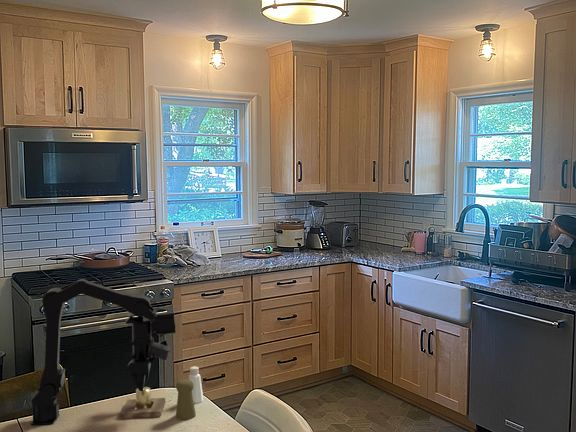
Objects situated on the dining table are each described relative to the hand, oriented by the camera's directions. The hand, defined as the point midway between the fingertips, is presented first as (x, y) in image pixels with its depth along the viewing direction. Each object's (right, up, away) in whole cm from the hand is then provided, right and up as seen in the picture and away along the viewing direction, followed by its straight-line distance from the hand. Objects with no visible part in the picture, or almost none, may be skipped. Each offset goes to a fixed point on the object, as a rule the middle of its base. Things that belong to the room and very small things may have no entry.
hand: (143, 385), depth 179 cm
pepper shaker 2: (+15, -7, +8) cm, 18 cm away
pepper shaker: (+14, -8, -4) cm, 17 cm away
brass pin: (0, -8, 0) cm, 8 cm away
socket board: (0, -8, 0) cm, 8 cm away
